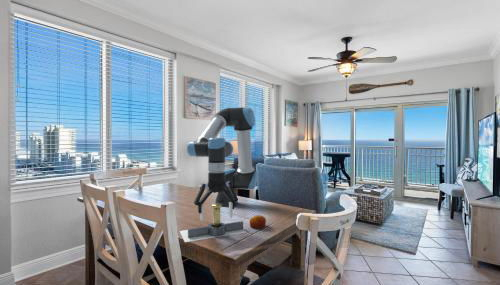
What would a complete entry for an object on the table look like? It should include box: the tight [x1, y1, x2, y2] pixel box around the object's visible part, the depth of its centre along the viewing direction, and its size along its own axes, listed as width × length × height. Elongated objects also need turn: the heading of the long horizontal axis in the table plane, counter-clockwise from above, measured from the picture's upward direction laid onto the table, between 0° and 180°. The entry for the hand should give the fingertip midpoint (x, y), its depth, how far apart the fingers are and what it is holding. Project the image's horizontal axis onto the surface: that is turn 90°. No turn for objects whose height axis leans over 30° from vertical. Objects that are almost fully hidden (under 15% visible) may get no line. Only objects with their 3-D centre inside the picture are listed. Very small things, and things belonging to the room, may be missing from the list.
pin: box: [211, 203, 223, 227], centre depth 116 cm, size 4×4×13 cm
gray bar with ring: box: [187, 221, 244, 238], centre depth 116 cm, size 8×26×4 cm, turn 115°
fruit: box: [249, 214, 267, 230], centre depth 125 cm, size 8×8×8 cm
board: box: [179, 229, 247, 243], centre depth 118 cm, size 14×28×1 cm, turn 115°
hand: (216, 218), depth 116 cm, fingers open, 13 cm apart
